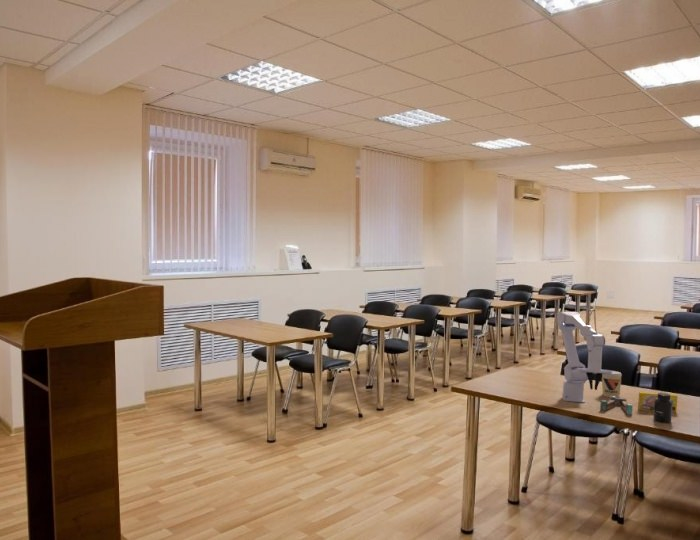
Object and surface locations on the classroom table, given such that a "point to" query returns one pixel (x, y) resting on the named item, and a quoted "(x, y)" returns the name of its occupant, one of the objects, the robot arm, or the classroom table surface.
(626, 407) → the tongs base
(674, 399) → the candy box
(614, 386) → the coffee cup
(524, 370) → the classroom table surface
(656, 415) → the supplement bottle
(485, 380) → the classroom table surface
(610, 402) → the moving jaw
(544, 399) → the classroom table surface
